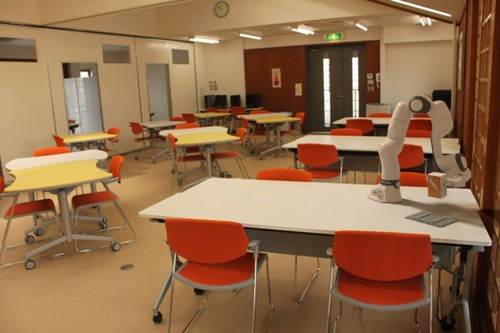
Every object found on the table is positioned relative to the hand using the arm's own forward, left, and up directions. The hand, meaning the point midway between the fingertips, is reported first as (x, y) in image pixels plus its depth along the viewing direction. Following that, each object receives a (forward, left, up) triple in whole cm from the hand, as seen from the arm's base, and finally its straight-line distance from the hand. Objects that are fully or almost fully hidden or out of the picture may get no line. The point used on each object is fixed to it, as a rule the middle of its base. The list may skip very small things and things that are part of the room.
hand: (436, 183), depth 248 cm
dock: (+2, -8, -19) cm, 21 cm away
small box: (0, +1, -8) cm, 8 cm away
